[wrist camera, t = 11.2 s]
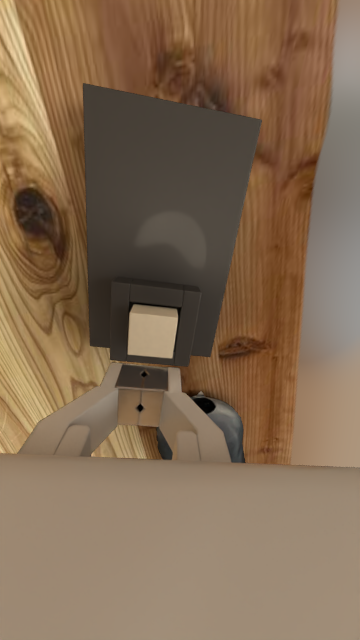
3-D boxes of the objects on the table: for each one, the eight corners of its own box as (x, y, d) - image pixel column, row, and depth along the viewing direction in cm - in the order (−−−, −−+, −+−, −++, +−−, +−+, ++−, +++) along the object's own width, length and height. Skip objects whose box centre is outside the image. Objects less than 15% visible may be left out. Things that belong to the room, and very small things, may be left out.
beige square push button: (172, 345, 16) (172, 358, 14) (131, 342, 16) (127, 354, 14) (177, 308, 15) (178, 317, 13) (133, 303, 15) (129, 312, 13)
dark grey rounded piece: (249, 458, 29) (234, 384, 21) (260, 512, 24) (246, 441, 16) (182, 464, 30) (146, 397, 23) (181, 515, 26) (135, 452, 18)
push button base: (206, 344, 20) (214, 369, 16) (98, 334, 19) (81, 358, 15) (249, 135, 14) (277, 101, 11) (95, 105, 13) (67, 56, 10)
